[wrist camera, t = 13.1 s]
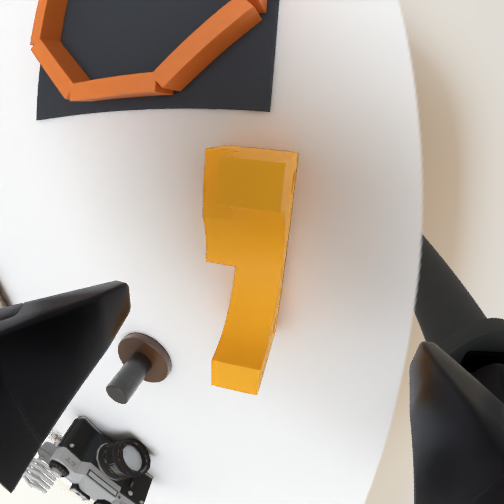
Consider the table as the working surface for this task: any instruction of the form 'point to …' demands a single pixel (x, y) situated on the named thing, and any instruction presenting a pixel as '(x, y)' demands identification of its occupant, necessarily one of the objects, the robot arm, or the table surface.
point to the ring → (141, 84)
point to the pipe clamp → (248, 252)
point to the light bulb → (41, 467)
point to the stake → (138, 366)
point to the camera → (102, 465)
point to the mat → (161, 55)
